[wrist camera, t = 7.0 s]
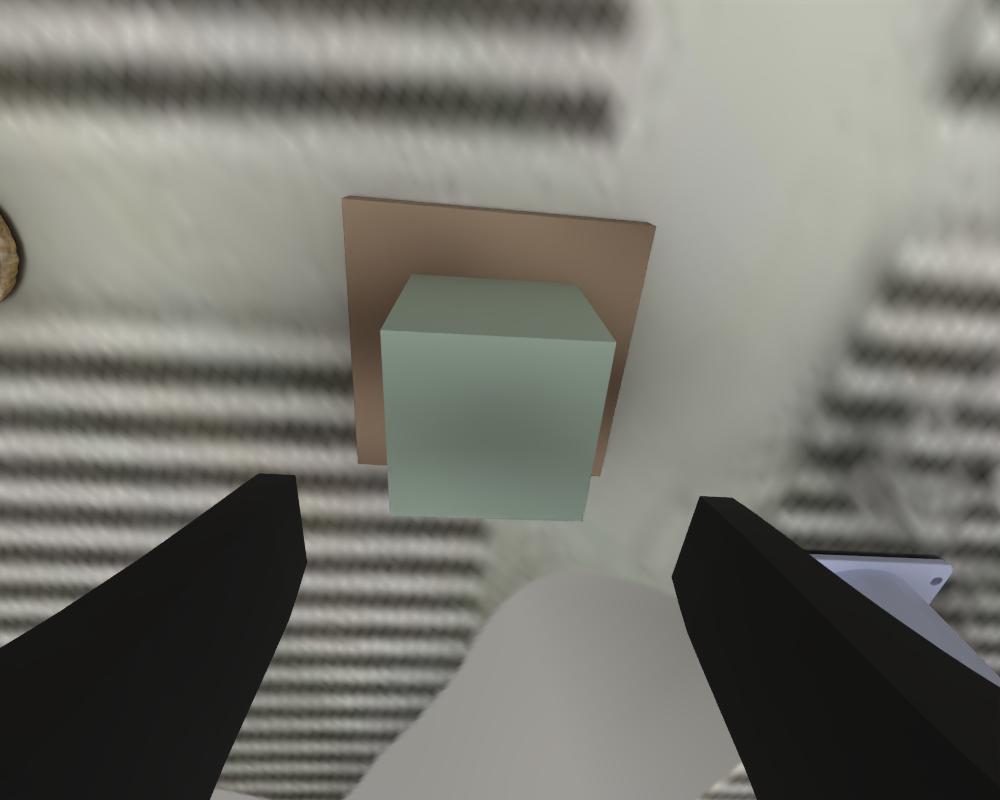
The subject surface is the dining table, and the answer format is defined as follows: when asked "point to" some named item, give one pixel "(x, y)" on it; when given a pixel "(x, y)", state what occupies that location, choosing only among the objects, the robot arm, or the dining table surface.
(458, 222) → the walnut board
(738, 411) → the dining table surface
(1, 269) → the sprinkles bottle
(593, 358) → the green cube
